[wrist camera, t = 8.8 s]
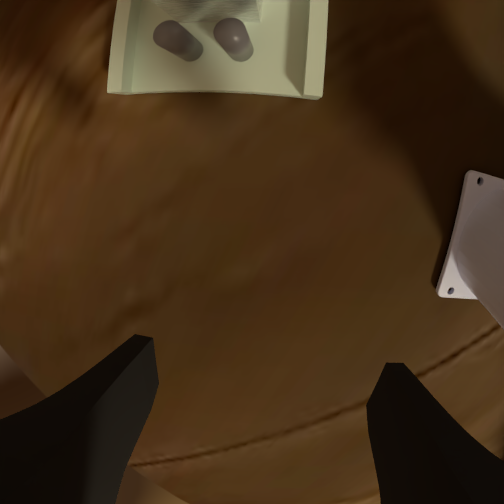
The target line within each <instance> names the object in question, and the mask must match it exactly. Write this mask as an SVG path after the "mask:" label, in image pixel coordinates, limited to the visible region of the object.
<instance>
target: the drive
mask: <svg viewBox="0 0 504 504" xmlns="http://www.w3.org/2000/svg"><path fill="white" fill-rule="evenodd" d="M151 1H152V2H154V3H155V4H156V5H157V6H159V7H160V8H161V9H162V10H163V11H165V12H166V13H167V14H168V15H169V16H171V17H172V18H173V19H174V20H175V21H176V22H178V23H179V24H180V23H197V22H219V21H221V20H222V19H225V18H237V19H239V20H241V21H242V22H256V23H261V15H262V3H263V0H151Z"/></svg>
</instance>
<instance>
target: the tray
mask: <svg viewBox="0 0 504 504" xmlns="http://www.w3.org/2000/svg"><path fill="white" fill-rule="evenodd" d="M327 19H328V0H263V3H262V15H261V23H256V22H242V21H241V20H239V19H237V18H225V19H222V20H221V21H219V22H197V23H180V24H179V23H178V22H176V21H175V20H174V19H173V18H172V17H171V16H169V15H168V14H167V13H166V12H165V11H163V10H162V9H161V8H160V7H159V6H157V5H156V4H155V3H154V2H152V1H151V0H117V6H116V12H115V19H114V26H113V33H112V42H111V51H110V61H109V72H108V86H107V93H114V94H125V95H129V94H144V93H167V92H224V93H247V94H263V95H275V96H286V97H296V98H304V99H313V100H317V99H319V98H321V97H322V94H323V82H324V68H325V54H326V38H327Z"/></svg>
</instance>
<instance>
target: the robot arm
mask: <svg viewBox="0 0 504 504" xmlns="http://www.w3.org/2000/svg"><path fill="white" fill-rule="evenodd" d="M479 177H480V183H479V184H477V180H478V178H479ZM451 287H452V288H451ZM449 288H451V290H450V291H448V289H449ZM436 292H437V294H438V295H439V296H440V297H447V298H465V299H478V300H479V301H480V302H481V303H482V304H483V305H484V307H485V308H486V309H487V310H488V311H489V312H490V314H491V315H492V316H493V317H494V318H495V320H496V321H497V322H498V323H499V324H500V326H501V327H502V328H503V329H504V179H501V178H497V177H494V176H491V175H488V174H484V173H481V172H477V171H474V170H469V171H468V172H467V173H466V175H465V178H464V183H463V189H462V194H461V199H460V203H459V208H458V212H457V217H456V221H455V225H454V229H453V233H452V237H451V240H450V244H449V248H448V251H447V255H446V258H445V262H444V265H443V268H442V271H441V275H440V278H439V281H438V284H437V287H436ZM158 385H159V380H158V373H157V366H156V358H155V350H154V342H153V338H151V337H146V336H141V335H136V334H135V335H133V336H132V337H131V338H129V339H128V340H127V341H126V342H124V343H123V344H122V345H121V346H119V347H118V348H117V349H116V350H114V351H113V352H112V353H110V354H109V355H108V356H107V357H105V358H104V359H103V360H102V361H100V362H99V363H98V364H96V365H95V366H94V367H92V368H91V369H90V370H88V371H87V372H86V373H84V374H83V375H82V376H80V377H79V378H77V379H76V380H74V381H73V382H71V383H70V384H69V385H67V386H66V387H64V388H63V389H61V390H60V391H58V392H56V393H55V394H53V395H51V396H50V397H48V398H46V399H44V400H42V401H40V402H39V403H37V404H35V405H33V406H31V407H29V408H26V409H24V410H22V411H20V412H17V413H15V414H13V415H10V416H8V417H6V418H3V419H0V504H115V502H116V498H117V494H118V491H119V487H120V484H121V480H122V477H123V473H124V471H125V468H126V466H127V463H128V461H129V458H130V456H131V454H132V451H133V449H134V447H135V445H136V442H137V440H138V438H139V436H140V434H141V431H142V429H143V427H144V425H145V422H146V420H147V418H148V415H149V413H150V411H151V408H152V405H153V402H154V398H155V395H156V391H157V388H158ZM366 407H367V421H368V432H369V438H370V443H371V448H372V453H373V458H374V463H375V468H376V473H377V478H378V483H379V490H380V498H381V504H504V461H502V460H501V459H499V458H498V457H496V456H495V455H494V454H492V453H491V452H490V451H488V450H487V449H486V448H485V447H484V446H482V445H481V444H480V443H479V442H478V441H477V440H475V439H474V438H473V437H472V436H471V435H470V434H469V433H468V432H466V431H465V430H464V429H463V428H462V427H461V426H460V425H459V424H458V423H457V422H456V421H455V420H454V419H453V418H452V416H451V415H450V414H449V413H448V412H447V411H446V410H445V409H444V408H443V407H442V406H441V405H440V404H439V402H438V401H437V400H436V399H435V398H434V397H433V396H432V395H431V393H430V392H429V391H428V390H427V389H426V388H425V387H424V385H423V384H422V383H421V382H420V381H419V380H418V379H417V377H416V376H415V375H414V374H413V373H412V372H411V371H410V370H409V369H408V368H407V367H406V365H405V364H404V363H386V364H385V366H384V369H383V371H382V373H381V375H380V378H379V380H378V382H377V384H376V386H375V388H374V390H373V392H372V395H371V397H370V399H369V401H368V403H367V405H366Z"/></svg>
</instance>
